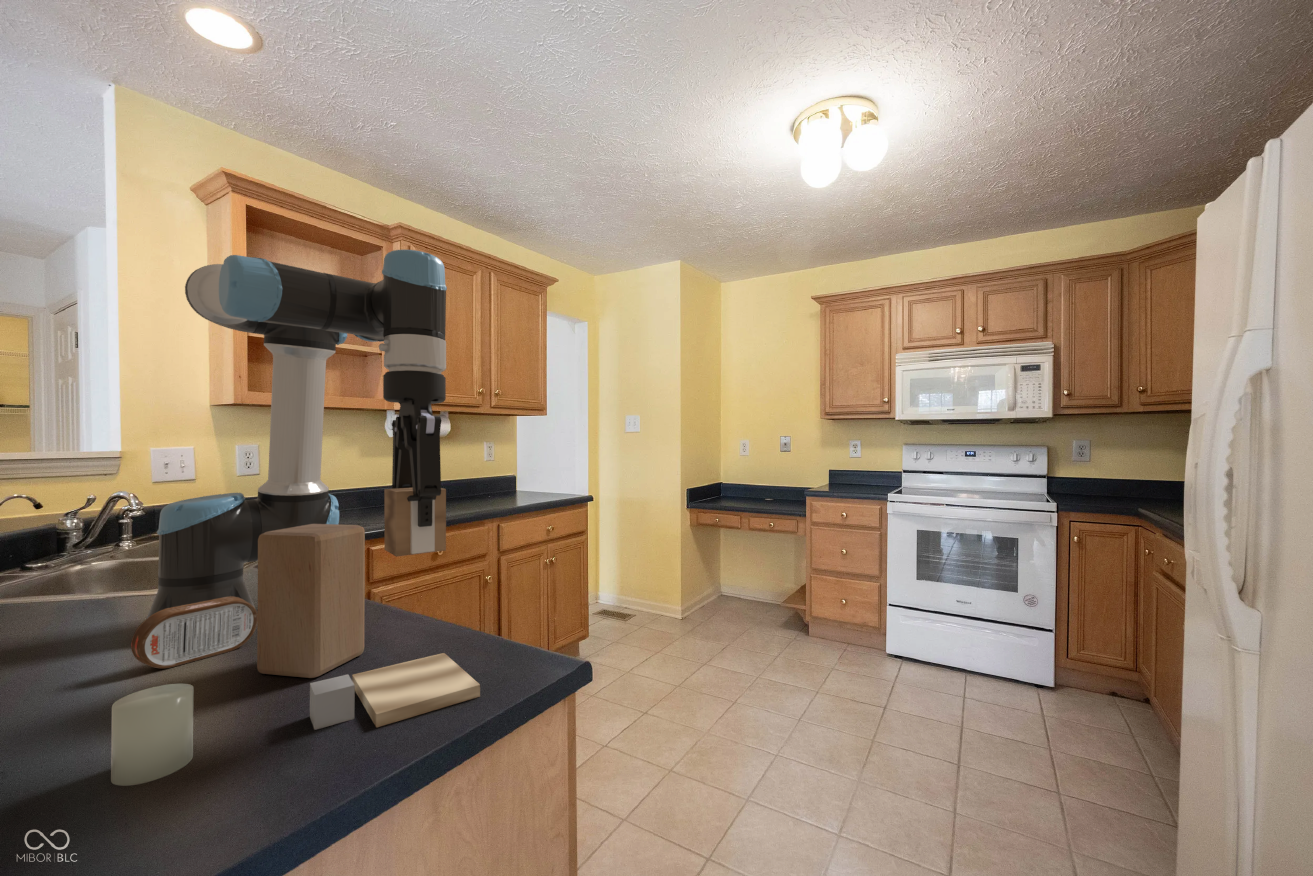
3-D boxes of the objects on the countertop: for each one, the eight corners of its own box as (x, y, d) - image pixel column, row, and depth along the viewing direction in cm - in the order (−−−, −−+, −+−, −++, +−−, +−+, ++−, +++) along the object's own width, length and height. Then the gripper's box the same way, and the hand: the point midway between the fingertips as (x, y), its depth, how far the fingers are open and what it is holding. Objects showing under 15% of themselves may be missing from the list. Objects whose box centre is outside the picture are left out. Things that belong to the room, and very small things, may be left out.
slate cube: (309, 717, 64) (309, 683, 64) (348, 706, 67) (348, 674, 67) (314, 730, 61) (314, 695, 61) (354, 719, 64) (354, 685, 64)
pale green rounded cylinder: (115, 765, 55) (116, 695, 55) (193, 744, 59) (194, 678, 59) (106, 794, 50) (107, 717, 50) (191, 769, 54) (192, 698, 54)
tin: (251, 641, 90) (251, 590, 90) (260, 644, 88) (261, 592, 89) (129, 674, 77) (130, 614, 77) (138, 679, 75) (139, 618, 75)
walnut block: (384, 549, 72) (384, 489, 72) (431, 544, 75) (431, 486, 76) (396, 556, 67) (396, 491, 67) (445, 550, 71) (445, 488, 71)
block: (314, 681, 74) (315, 534, 74) (253, 675, 76) (254, 532, 76) (367, 654, 84) (367, 524, 84) (312, 649, 86) (312, 522, 86)
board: (352, 686, 73) (352, 674, 73) (444, 663, 80) (444, 652, 80) (376, 727, 62) (376, 714, 62) (480, 696, 69) (480, 684, 69)
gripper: (367, 377, 77) (367, 542, 76) (404, 360, 62) (404, 564, 61) (423, 381, 81) (423, 536, 81) (469, 366, 67) (469, 555, 66)
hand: (415, 548), depth 71 cm, fingers closed on walnut block, 6 cm apart
